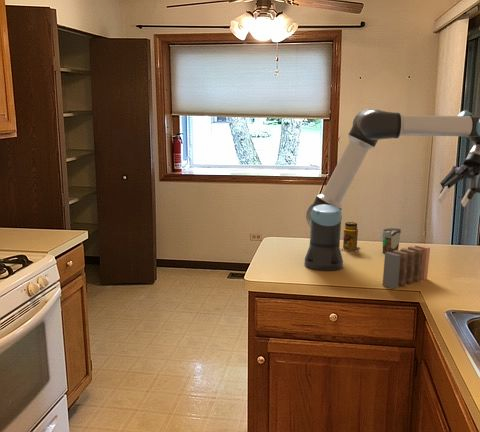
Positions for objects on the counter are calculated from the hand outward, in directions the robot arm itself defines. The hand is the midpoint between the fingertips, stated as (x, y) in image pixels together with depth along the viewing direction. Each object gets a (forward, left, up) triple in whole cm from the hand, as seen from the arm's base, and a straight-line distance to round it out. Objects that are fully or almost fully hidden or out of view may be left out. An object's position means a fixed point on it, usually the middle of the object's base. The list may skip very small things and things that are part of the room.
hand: (451, 202), depth 204 cm
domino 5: (-10, -14, -27) cm, 32 cm away
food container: (-22, +19, -27) cm, 40 cm away
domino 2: (-18, -25, -27) cm, 41 cm away
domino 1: (-20, -29, -27) cm, 44 cm away
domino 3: (-15, -21, -27) cm, 37 cm away
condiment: (-38, +19, -27) cm, 50 cm away
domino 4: (-12, -18, -27) cm, 34 cm away
